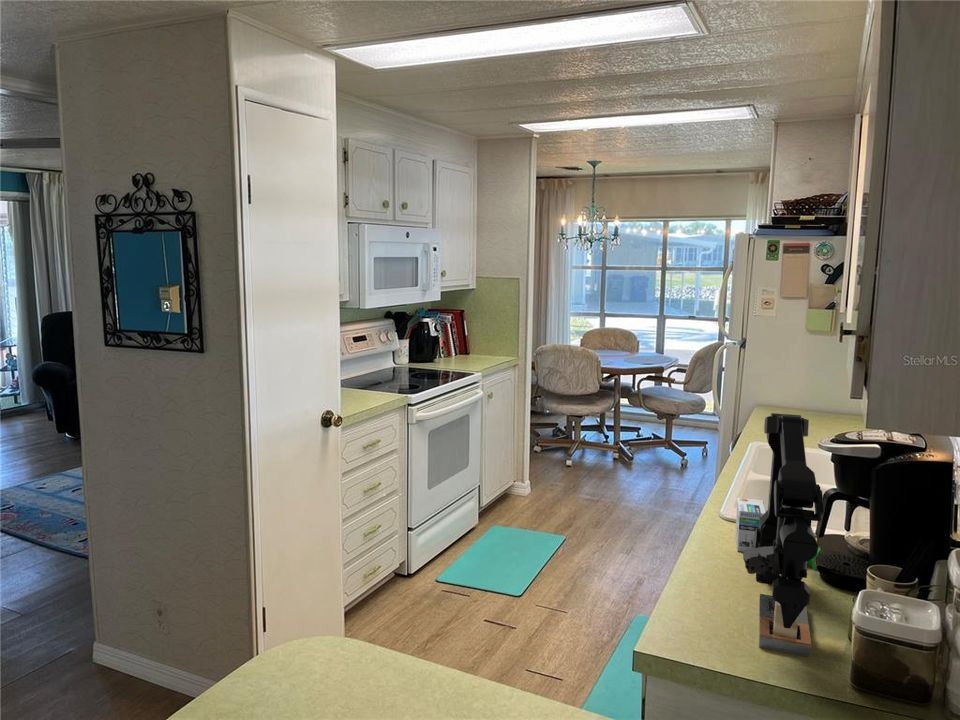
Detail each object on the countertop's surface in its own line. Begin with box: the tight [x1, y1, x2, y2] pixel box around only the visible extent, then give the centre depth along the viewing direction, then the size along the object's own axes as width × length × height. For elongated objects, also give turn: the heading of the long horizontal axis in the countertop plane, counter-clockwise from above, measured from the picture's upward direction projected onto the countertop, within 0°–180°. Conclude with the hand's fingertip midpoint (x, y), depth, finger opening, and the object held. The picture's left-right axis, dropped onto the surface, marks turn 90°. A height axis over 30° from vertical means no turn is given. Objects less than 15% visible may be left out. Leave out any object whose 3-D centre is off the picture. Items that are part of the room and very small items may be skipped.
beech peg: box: [772, 601, 798, 639], centre depth 141 cm, size 4×4×8 cm
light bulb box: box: [734, 497, 767, 553], centre depth 185 cm, size 11×7×11 cm, turn 164°
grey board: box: [758, 593, 812, 658], centre depth 146 cm, size 19×9×2 cm, turn 159°
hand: (785, 616), depth 141 cm, fingers open, 9 cm apart
